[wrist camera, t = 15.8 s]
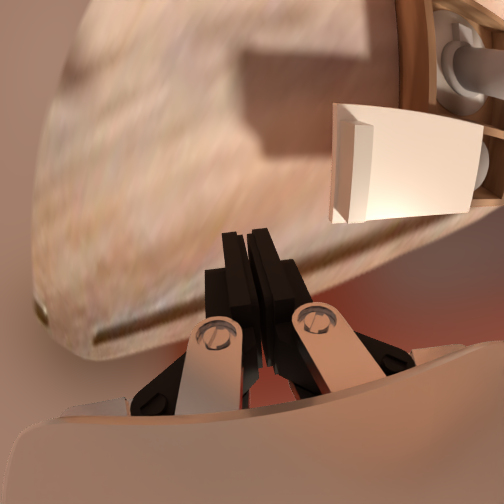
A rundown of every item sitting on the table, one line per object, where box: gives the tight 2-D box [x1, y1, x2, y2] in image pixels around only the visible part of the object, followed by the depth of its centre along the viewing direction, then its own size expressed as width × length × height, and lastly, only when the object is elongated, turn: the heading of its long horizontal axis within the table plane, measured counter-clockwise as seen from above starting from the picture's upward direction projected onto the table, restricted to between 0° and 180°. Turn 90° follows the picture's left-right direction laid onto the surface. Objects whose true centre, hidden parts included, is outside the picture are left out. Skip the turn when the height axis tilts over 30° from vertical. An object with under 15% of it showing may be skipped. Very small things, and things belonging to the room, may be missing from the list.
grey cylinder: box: [441, 23, 504, 100], centre depth 13 cm, size 6×7×8 cm
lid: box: [329, 103, 484, 224], centre depth 17 cm, size 14×8×3 cm, turn 93°
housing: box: [395, 0, 504, 207], centre depth 17 cm, size 14×20×4 cm
